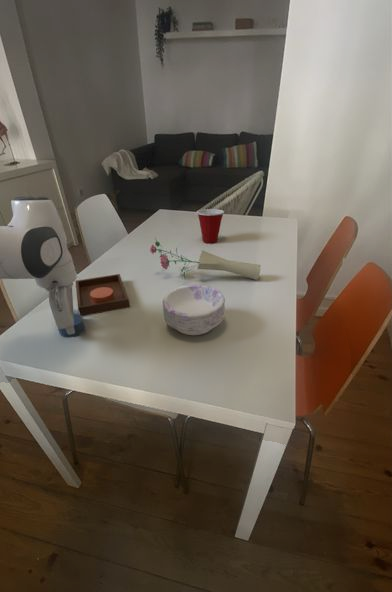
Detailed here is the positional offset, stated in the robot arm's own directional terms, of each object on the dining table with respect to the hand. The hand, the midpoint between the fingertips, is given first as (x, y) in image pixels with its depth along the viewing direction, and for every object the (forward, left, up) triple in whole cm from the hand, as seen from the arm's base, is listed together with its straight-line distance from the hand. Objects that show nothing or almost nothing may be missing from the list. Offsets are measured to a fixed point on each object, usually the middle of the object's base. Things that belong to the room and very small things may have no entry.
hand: (71, 324), depth 80 cm
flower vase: (+42, +16, -2) cm, 45 cm away
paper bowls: (+30, -9, -2) cm, 31 cm away
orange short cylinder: (+9, +11, -1) cm, 14 cm away
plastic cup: (+56, +48, -2) cm, 74 cm away
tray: (+9, +15, -2) cm, 18 cm away
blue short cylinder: (0, 0, -2) cm, 2 cm away
